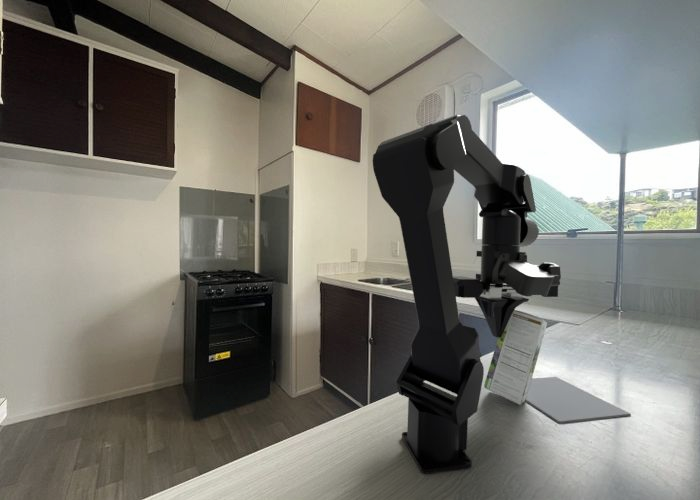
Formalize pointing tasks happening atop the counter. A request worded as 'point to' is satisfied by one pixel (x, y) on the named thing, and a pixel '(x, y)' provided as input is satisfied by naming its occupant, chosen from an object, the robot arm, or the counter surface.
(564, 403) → the mat
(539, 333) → the syrup box
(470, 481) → the counter surface
